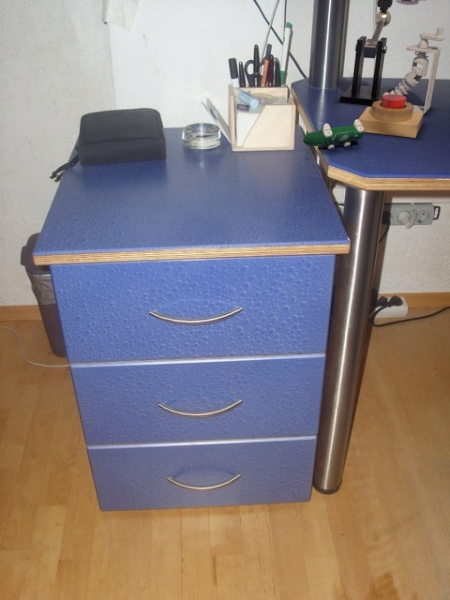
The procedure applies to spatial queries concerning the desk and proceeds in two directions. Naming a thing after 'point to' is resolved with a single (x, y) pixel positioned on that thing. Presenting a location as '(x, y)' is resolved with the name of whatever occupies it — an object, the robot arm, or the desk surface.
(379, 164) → the desk surface
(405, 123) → the button block
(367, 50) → the lever
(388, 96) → the button
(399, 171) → the desk surface
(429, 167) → the desk surface
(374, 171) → the desk surface
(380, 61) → the bracket
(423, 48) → the clamp
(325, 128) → the green toy race car
